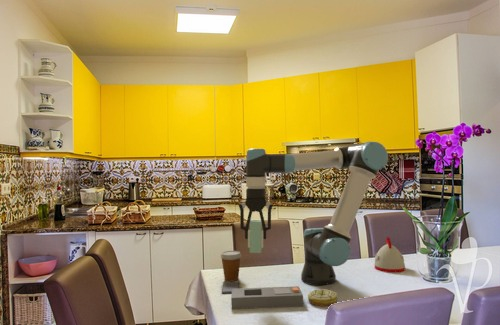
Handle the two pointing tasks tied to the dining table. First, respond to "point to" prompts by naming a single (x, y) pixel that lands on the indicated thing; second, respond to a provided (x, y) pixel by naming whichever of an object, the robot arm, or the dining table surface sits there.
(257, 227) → the pale green tall block
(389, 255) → the kitchen timer
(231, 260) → the disposable coffee cup
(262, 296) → the power strip
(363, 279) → the dining table surface
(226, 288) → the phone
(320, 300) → the yellow flat round piece
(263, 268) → the dining table surface
